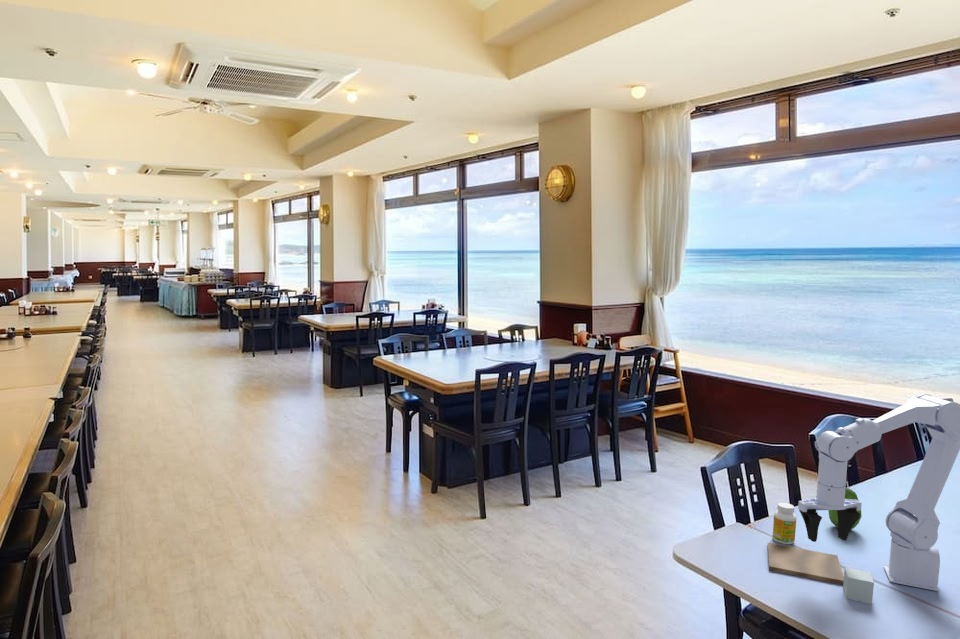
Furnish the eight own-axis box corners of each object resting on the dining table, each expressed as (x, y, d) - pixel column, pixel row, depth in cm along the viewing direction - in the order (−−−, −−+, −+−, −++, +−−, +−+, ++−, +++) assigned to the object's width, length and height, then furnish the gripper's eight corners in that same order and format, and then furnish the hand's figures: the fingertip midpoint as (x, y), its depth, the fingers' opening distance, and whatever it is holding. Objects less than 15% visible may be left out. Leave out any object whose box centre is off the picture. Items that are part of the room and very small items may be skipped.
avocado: (851, 537, 172) (855, 494, 171) (822, 527, 178) (825, 486, 177) (864, 530, 176) (868, 489, 175) (835, 520, 183) (839, 480, 182)
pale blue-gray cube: (868, 593, 143) (870, 572, 142) (871, 604, 138) (873, 582, 138) (842, 588, 145) (844, 567, 144) (845, 598, 140) (847, 577, 140)
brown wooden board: (837, 559, 159) (837, 555, 159) (844, 585, 146) (844, 581, 146) (767, 546, 165) (767, 542, 165) (768, 570, 152) (769, 566, 152)
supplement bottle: (782, 545, 166) (784, 510, 165) (767, 536, 171) (770, 502, 170) (799, 543, 167) (801, 508, 166) (784, 535, 172) (787, 500, 171)
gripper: (848, 476, 151) (844, 531, 153) (792, 478, 150) (788, 532, 151) (869, 487, 144) (864, 544, 146) (810, 489, 143) (806, 546, 144)
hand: (827, 539), depth 148 cm, fingers open, 7 cm apart
